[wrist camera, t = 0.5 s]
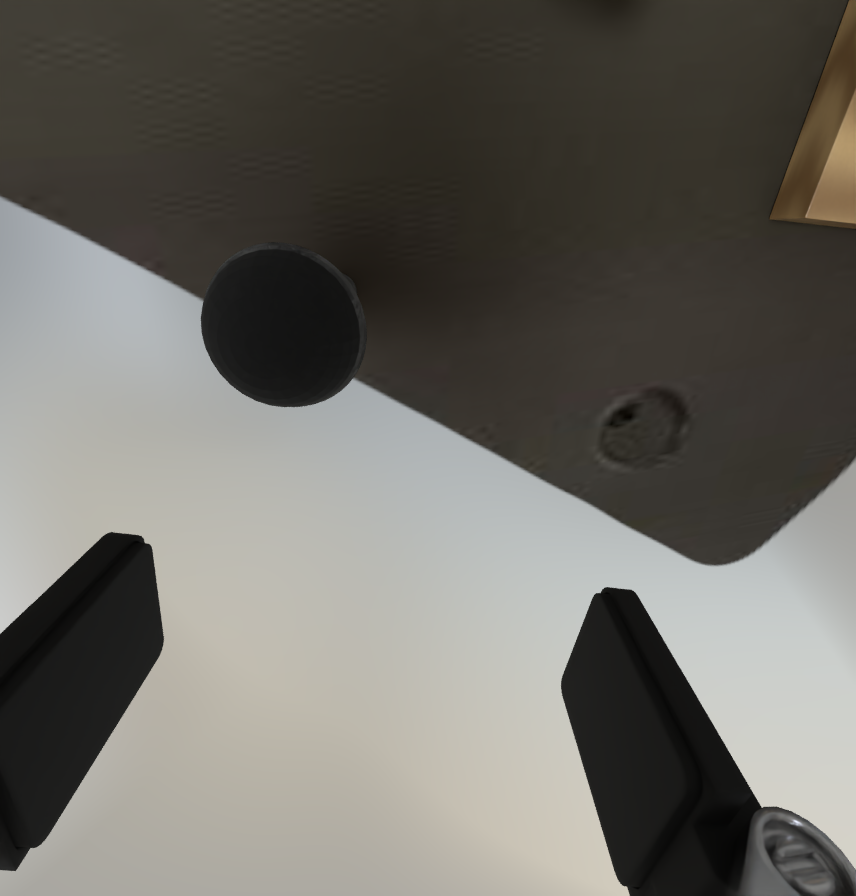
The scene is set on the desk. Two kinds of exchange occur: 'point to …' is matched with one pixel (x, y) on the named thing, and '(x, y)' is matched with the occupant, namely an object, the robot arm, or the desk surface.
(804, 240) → the desk surface
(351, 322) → the microphone
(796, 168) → the wooden dial board
